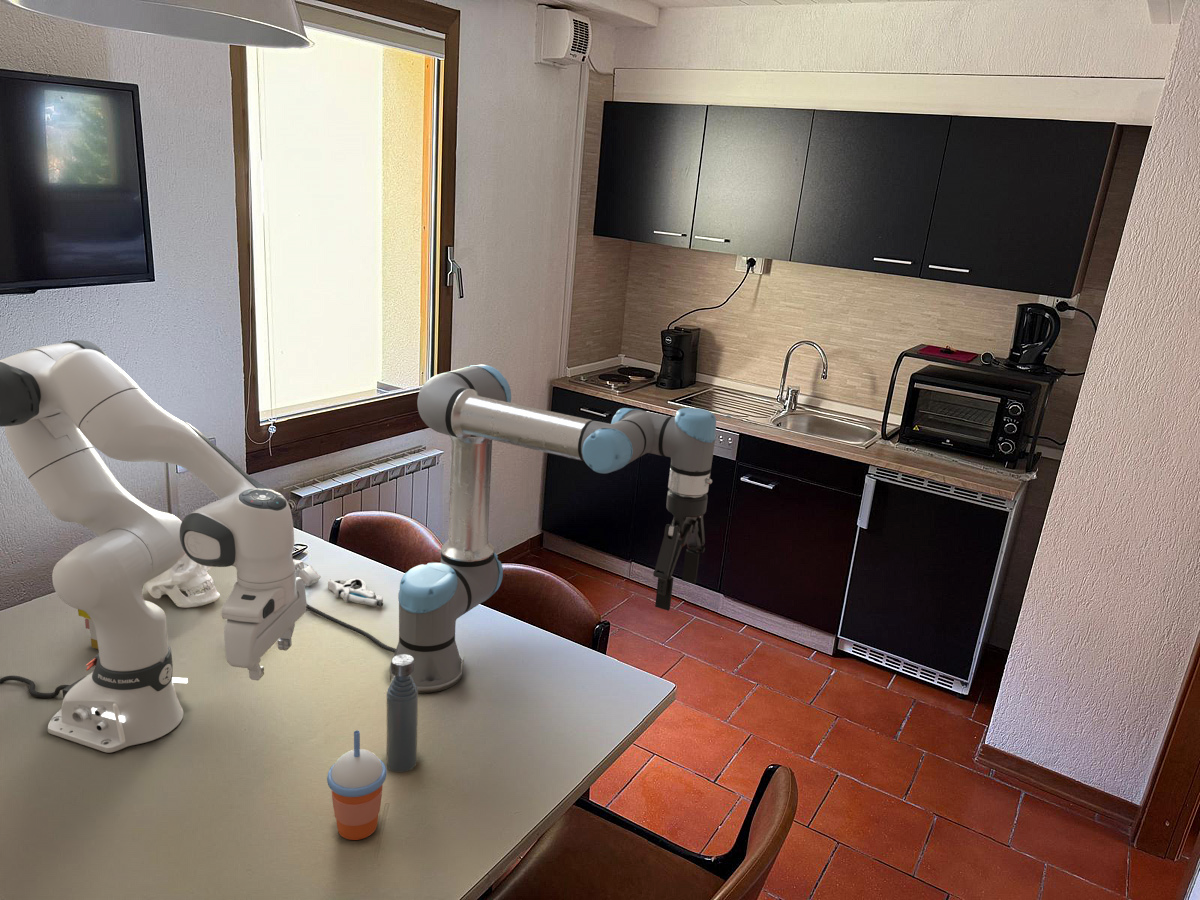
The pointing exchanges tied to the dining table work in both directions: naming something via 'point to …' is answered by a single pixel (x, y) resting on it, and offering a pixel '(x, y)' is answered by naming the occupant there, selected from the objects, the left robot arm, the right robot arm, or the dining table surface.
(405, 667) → the cap
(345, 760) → the cup with straw
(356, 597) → the toy gun
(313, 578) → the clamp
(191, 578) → the skull
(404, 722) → the bottle
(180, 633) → the dining table surface
